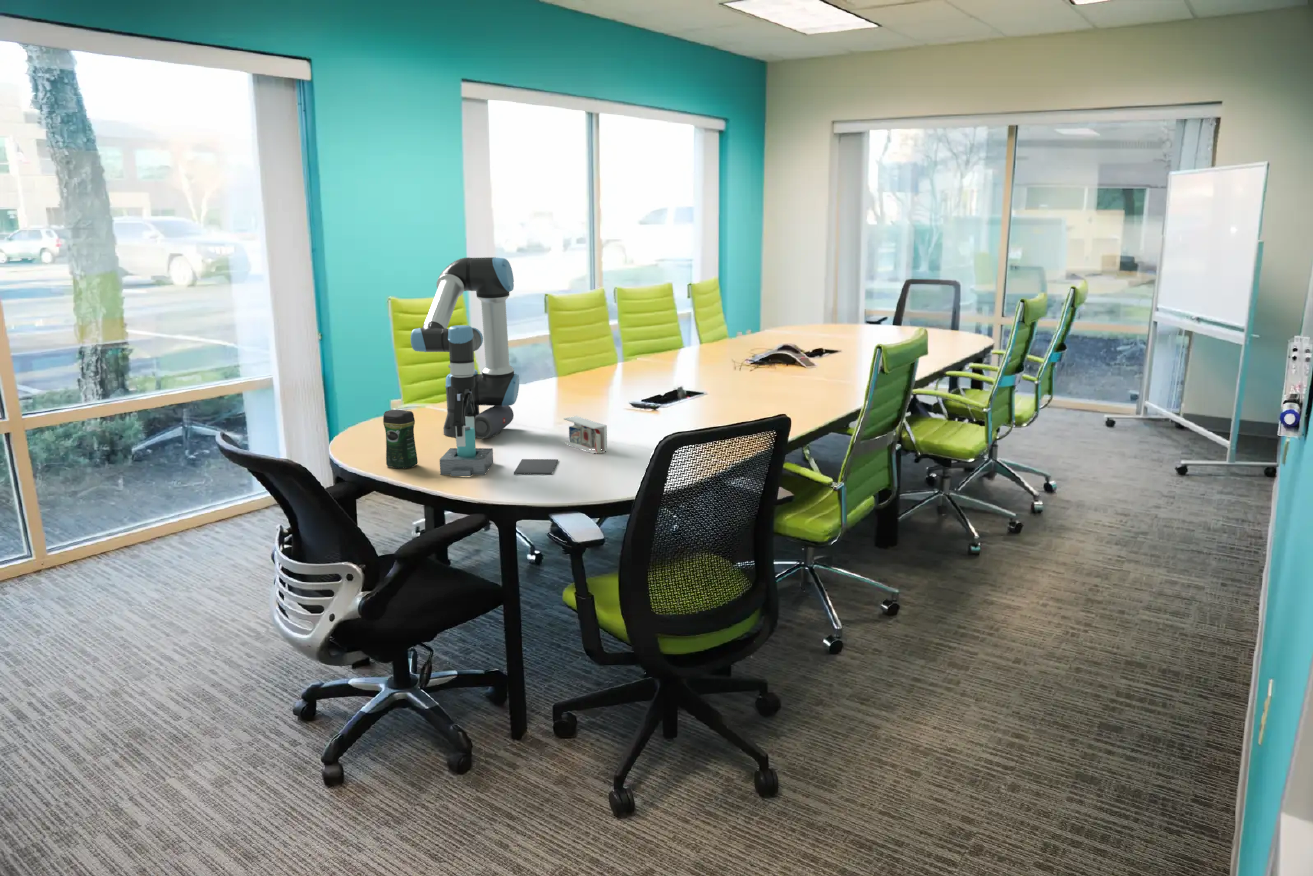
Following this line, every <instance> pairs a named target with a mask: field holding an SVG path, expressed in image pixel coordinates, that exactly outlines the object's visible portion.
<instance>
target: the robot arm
mask: <svg viewBox="0 0 1313 876" xmlns="http://www.w3.org/2000/svg"><path fill="white" fill-rule="evenodd" d="M514 282H515V280H514V272H513V269H512V266H511V263H510V261H509V260H508V259H507V258H504V257H496V256H494V257H492V256H491V257H490V256H488V257H485V256H484V257H462V258H459V259H455V260H454V261H453V262H451V263H449V265H447V266H446V267H445V268H444V269H443V270H442V271H441V272H440V274H439V276H438V278H437V281H436V291H435V295H434V297H433V299H432V301H431V304H430V307H429V310H428V313H427V315H426V317H425V320H424V322H423V325H422V326H421V327H418V328H414V329H412V331H411V333H410V346H411V348H412V350H413V351H415V352H419V353H422V352H423V353H449V354H448V355H449V364H448V365H447V366H448V368H449V369H450V372H449V373H448V374H447V375H446V377H445V395H446V396H445V397H446V416H445V421H444V423H443V435H445V436H446V437H451V438H453V437H454V438H455V445H456V447H457V446H464V447H465V446H466V443H465V426H470V428H474V429H475V427H474V417H476V416H477V415H478V414H480V413H481V412H480V406H491V407H493V406H514V404H516V402H517V399H518V396H519V390H520V376H519V374H517V373H515V370H514V369H515V368H514V367H513V366H511V365H510V356H509V355H510V353H509V335H508V322H507V321H508V320H507V319H508V318H507V303H506V301H507V299H508V298H509V297H510V293H511V292H513V290H514V287H515V286H514V284H515V283H514ZM464 292H476V293H475V294H476V298H477V299H478V300H479V301H480V303H481V304H480V305H481V318H482V331H480V330H479V328H476V327H472V326H471V325H465V324H464V325H463V324H462V325H461V324H460V325H451V326H450V327H448V326H449V323H450V320H451V318H452V316H453V312H454V310H455V308H456V305H457V303H458V299H459V297H461V296H462V295H463V294H464ZM482 332H483V334H482ZM482 345H483V346H484V358H485V359H484V361H485V365H484V367H483V369H482V370H481V373H479V372H478V370H477V369H476V368H475V353H474V352H476V351H477V350H479V349H480V348H481V346H482Z"/></svg>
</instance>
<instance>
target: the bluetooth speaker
mask: <svg viewBox="0 0 1313 876" xmlns="http://www.w3.org/2000/svg"><path fill="white" fill-rule="evenodd" d="M513 420H514V410H513V408H512V407H511V405H509V406H491V407H489V408H487V409H484V411H481V412H480V414H478V415H477V416H476V417H474V427H475V438H477V439H491V438H494V437H496V436H497V435H499V434H500V433H501V431H502V430H503V429H504V428H506V427H507V426H509V425H510V424H511V422H512V421H513ZM495 435H496V436H495Z"/></svg>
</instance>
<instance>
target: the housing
mask: <svg viewBox="0 0 1313 876" xmlns="http://www.w3.org/2000/svg"><path fill="white" fill-rule="evenodd" d="M493 464H494V449H493V448H491V447H490V448H489V447H488V448H484V447H483V448H481V447H480V448H479V447H478V448H477V447H476V456H475V457H458V455H457V447H454V448H453V447H452V448H449V449H448V450H447V451H446V452H445V453H444V454H443V455H442V456H441V457H440V458H439V472H440V476H450V477H451V476H471V477H472V476H485V475H486V474H487V473H488V471H489V470H490V469H491V467H492V465H493ZM488 469H489V470H488ZM486 472H487V473H486ZM485 473H486V474H485Z"/></svg>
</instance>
